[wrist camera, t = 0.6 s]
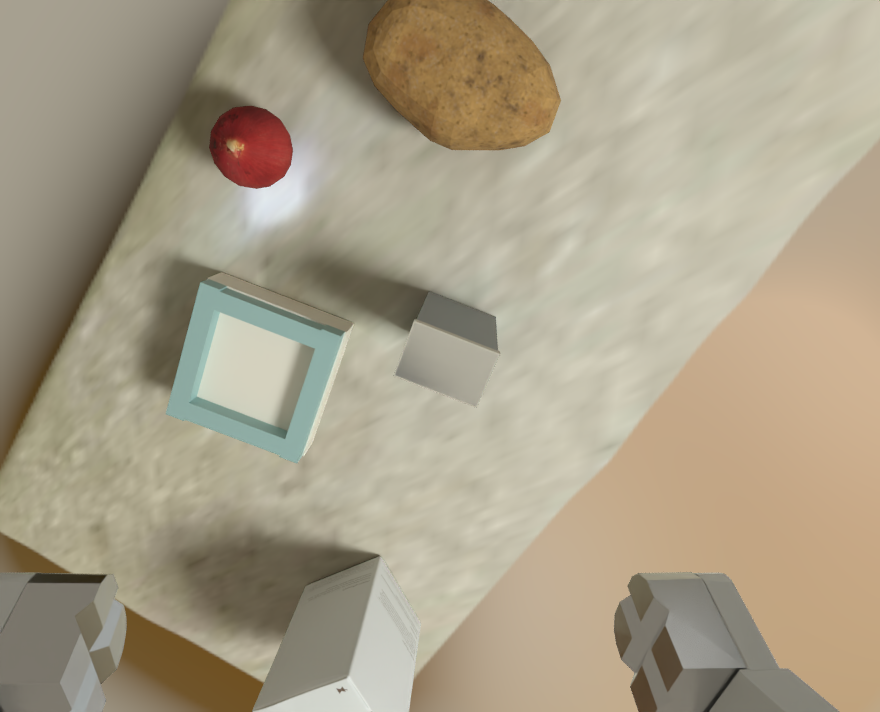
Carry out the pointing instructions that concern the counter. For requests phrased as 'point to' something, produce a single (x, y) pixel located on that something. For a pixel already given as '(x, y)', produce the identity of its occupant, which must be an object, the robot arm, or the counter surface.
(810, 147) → the counter surface
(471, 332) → the blue-grey box
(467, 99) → the potato
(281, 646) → the supplement box
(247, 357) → the display stand
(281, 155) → the onion
